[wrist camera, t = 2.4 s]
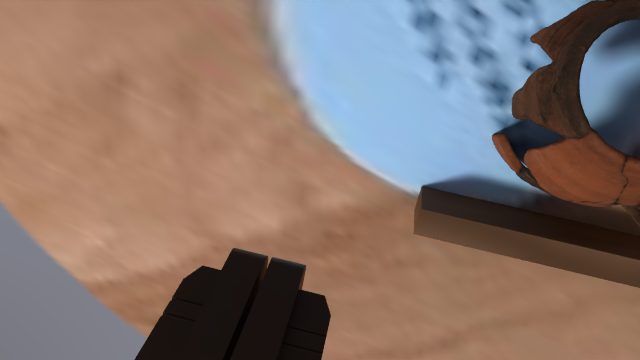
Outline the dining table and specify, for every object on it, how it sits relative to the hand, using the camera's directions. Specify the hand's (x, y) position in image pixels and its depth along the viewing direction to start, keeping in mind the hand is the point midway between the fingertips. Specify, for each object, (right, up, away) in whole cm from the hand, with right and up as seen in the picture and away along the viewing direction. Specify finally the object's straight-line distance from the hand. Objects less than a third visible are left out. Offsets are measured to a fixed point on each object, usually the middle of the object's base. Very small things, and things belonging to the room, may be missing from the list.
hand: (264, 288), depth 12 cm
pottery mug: (+15, +6, +16) cm, 23 cm away
